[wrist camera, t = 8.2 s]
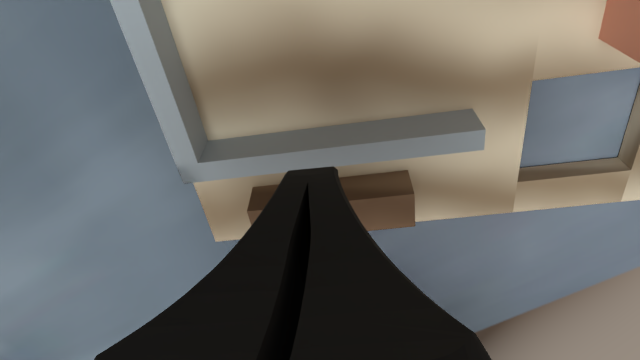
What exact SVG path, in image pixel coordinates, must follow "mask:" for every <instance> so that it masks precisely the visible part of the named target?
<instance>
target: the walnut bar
mask: <svg viewBox="0 0 640 360" xmlns="http://www.w3.org/2000/svg"><path fill="white" fill-rule="evenodd" d="M339 179H340V183H341V185H342V188H343V190H344V192H345V195H346V197H347V199H348V201H349V202H350V204H351V206H352V208H353V210H354V211H355V213H356V215H357V216H358V218H359V220H360V221H361V223H362V224H363V226H364V227H365V229H366V230H367V231H371V230H382V229H392V228H402V227H412V226H415V194H414V190H413V186H412V183H411V179H410V176H409V172H408V170H403V171H394V172H385V173H376V174H367V175H358V176H349V177H340V178H339ZM278 185H279V184H276V185H267V186H258V187H253V188H252V192H251V197H250V201H249V205H248V209H247V213H248V217H249V220H250V223H251V225H252V224H253V223H254V221H255V220H256V219H257V217H258V216H259V214H260V213H261V212H262V210H263V209H264V207H265V206H266V204H267V203H268V201H269V200H270V198H271V197H272V195H273V194H274V192H275V190H276V189H277V187H278Z"/></svg>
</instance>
